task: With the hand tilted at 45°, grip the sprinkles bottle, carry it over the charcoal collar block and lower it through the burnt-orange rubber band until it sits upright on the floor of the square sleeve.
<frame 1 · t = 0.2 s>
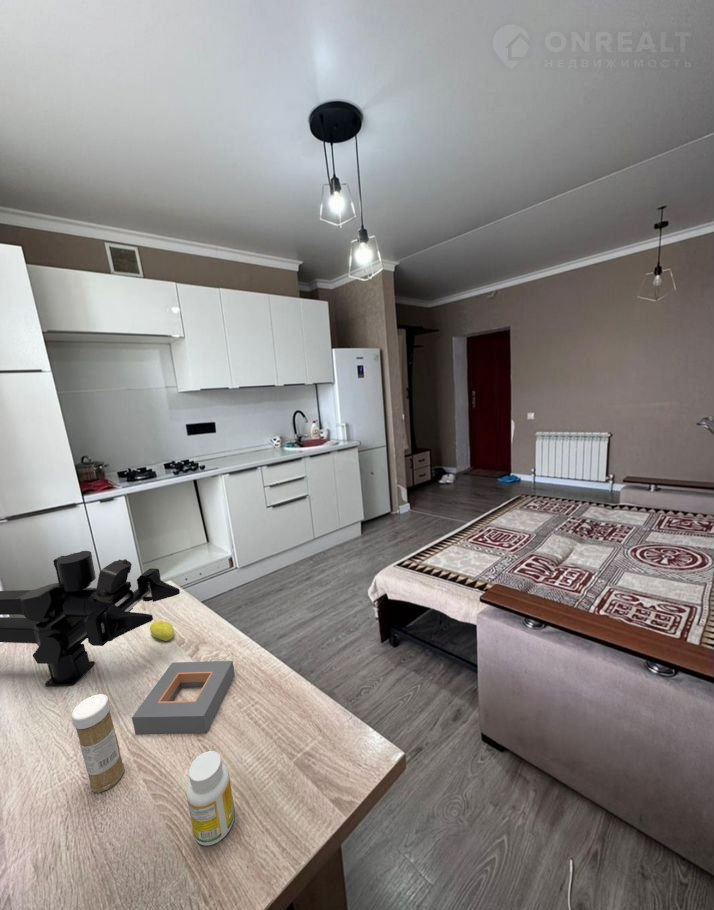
hand: (166, 603, 75), 17 cm above the table, tool horizontal, fingers open, 9 cm apart
lemon: (163, 637, 92), on the table
supplement bottle: (215, 824, 51), on the table
collar block: (189, 702, 71), on the table
sprinkles bottle: (108, 779, 58), on the table
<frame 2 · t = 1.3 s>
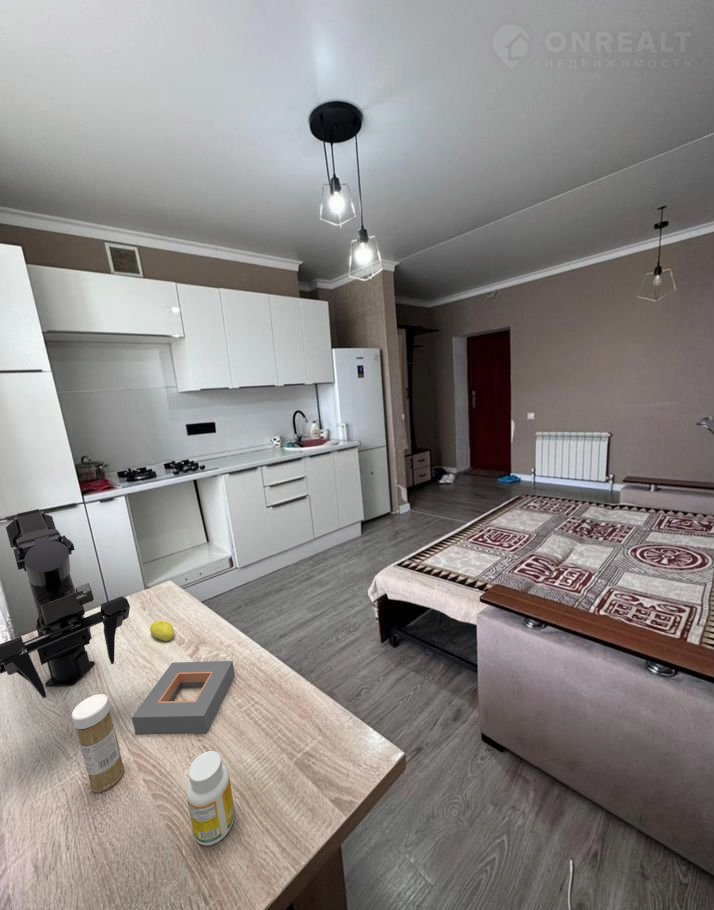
hand: (80, 679, 61), 13 cm above the table, tool tilted 45°, fingers open, 9 cm apart
nothing on the table moved.
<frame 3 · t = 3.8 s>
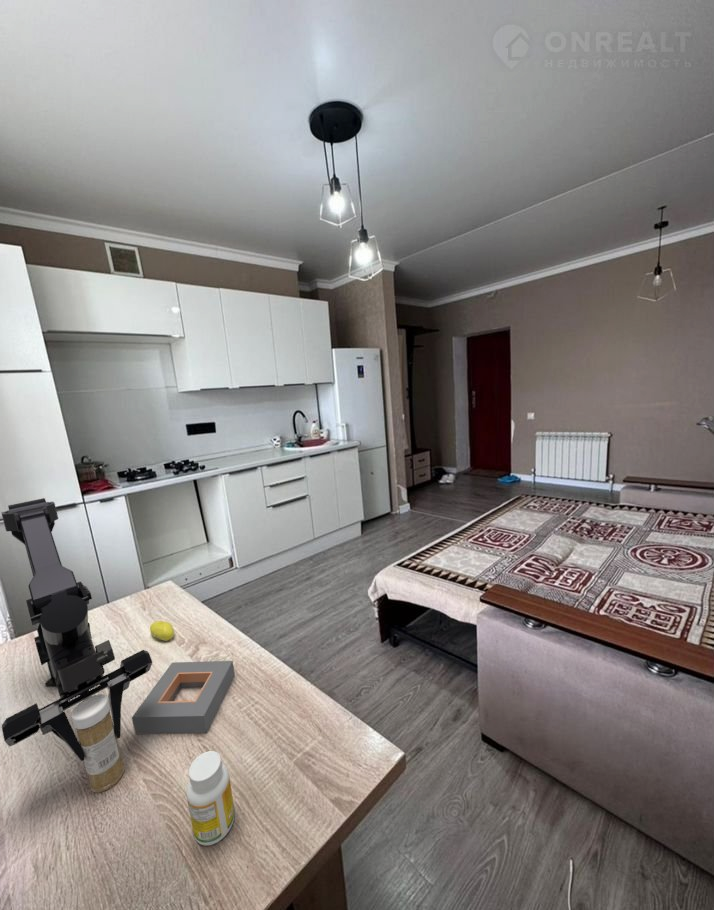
hand: (101, 748, 56), 7 cm above the table, tool tilted 45°, fingers closed on sprinkles bottle, 4 cm apart
sprinkles bottle: (108, 779, 58), on the table, touching gripper
everything else where it was.
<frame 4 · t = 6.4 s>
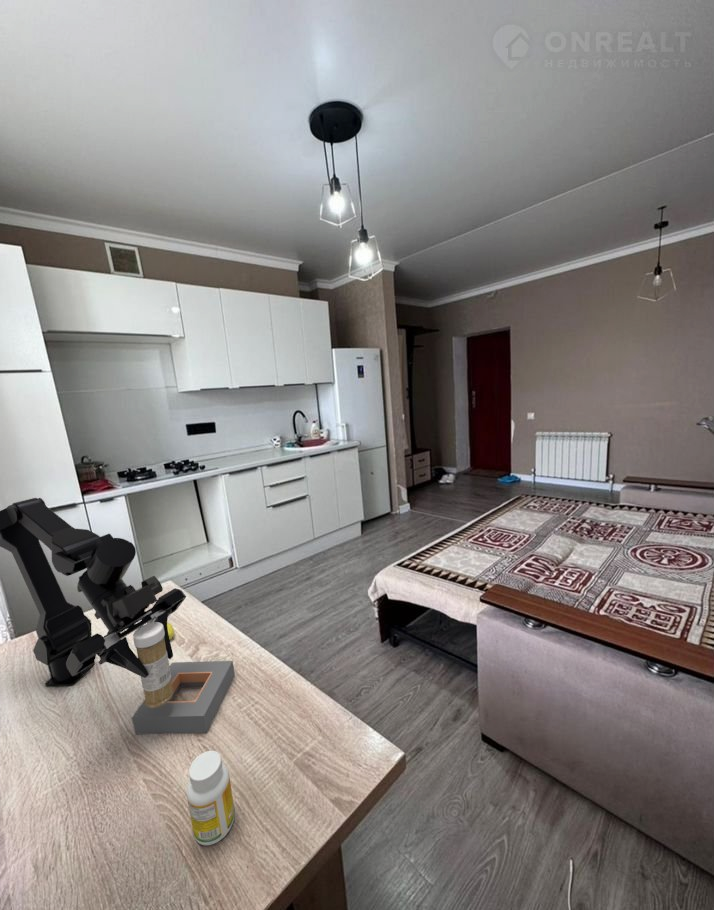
hand: (159, 666, 63), 13 cm above the table, tool tilted 45°, fingers closed on sprinkles bottle, 4 cm apart
sprinkles bottle: (159, 699, 65), point 6 cm above the table, touching gripper
everything else where it was.
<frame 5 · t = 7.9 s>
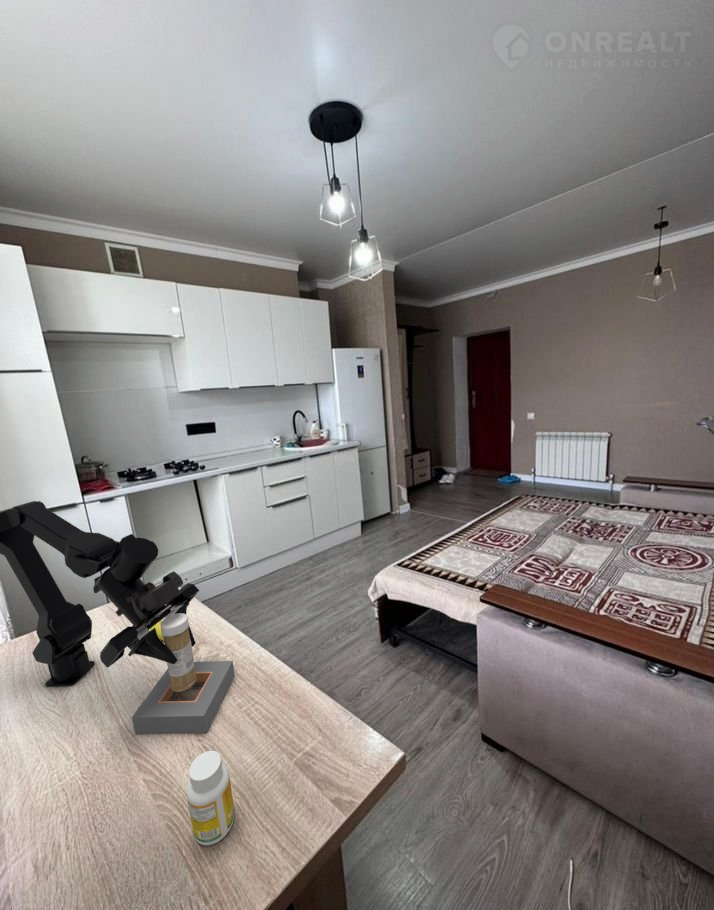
hand: (185, 653, 69), 11 cm above the table, tool tilted 45°, fingers closed on sprinkles bottle, 4 cm apart
sprinkles bottle: (184, 685, 70), point 4 cm above the table, touching gripper
everything else where it was.
when the fingers open (8 cm above the table, at t = 8.8 s): sprinkles bottle drops 1 cm, resting in collar block.
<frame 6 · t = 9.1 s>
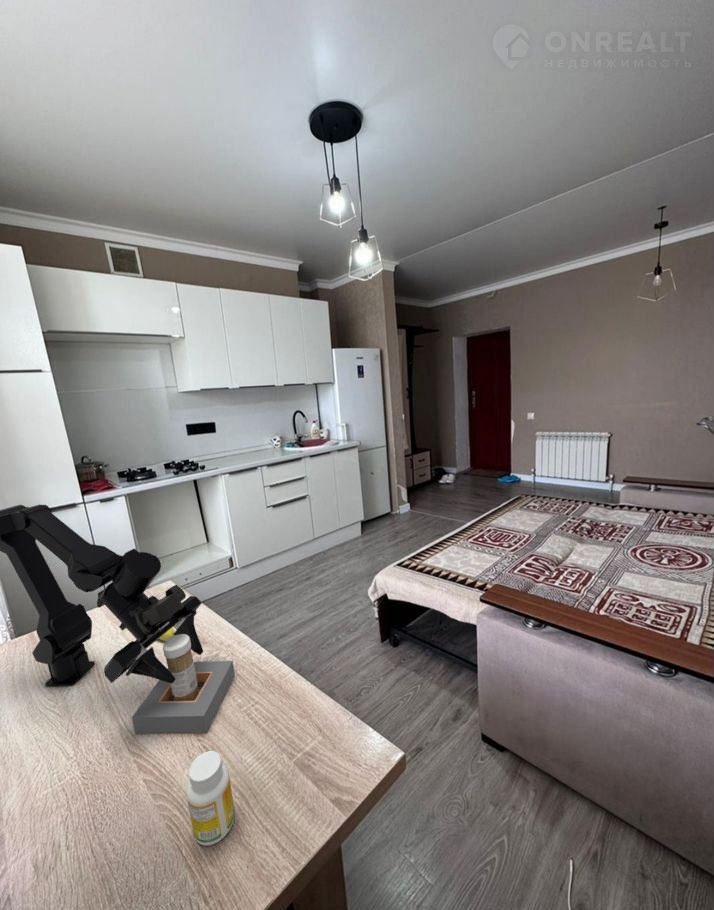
hand: (188, 666, 69), 8 cm above the table, tool tilted 45°, fingers open, 7 cm apart
sprinkles bottle: (188, 704, 71), resting in collar block
everything else where it was.
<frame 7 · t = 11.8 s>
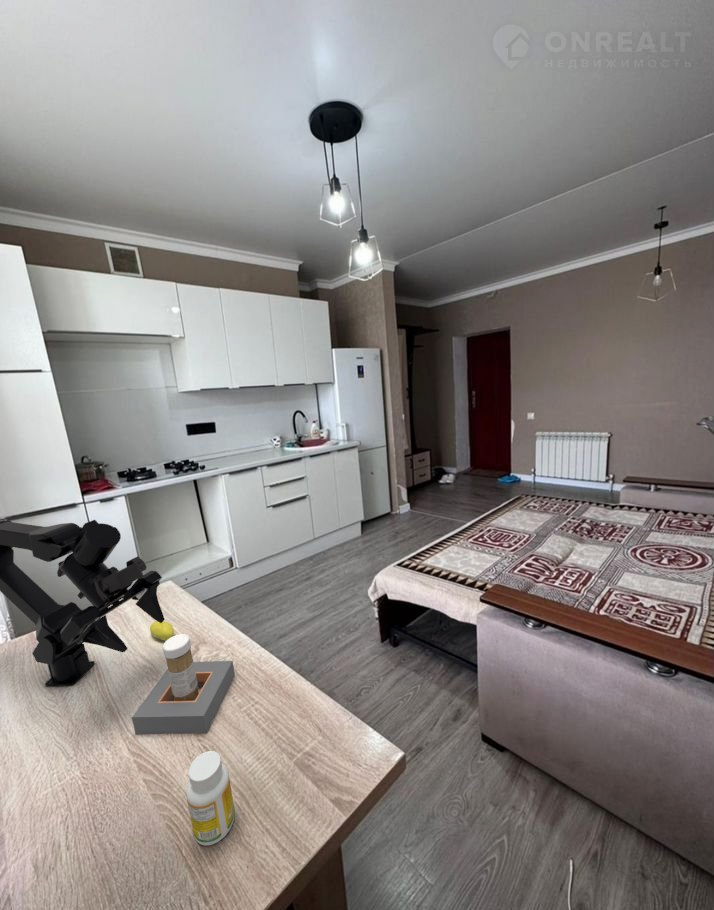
hand: (145, 635, 72), 13 cm above the table, tool tilted 45°, fingers open, 9 cm apart
nothing on the table moved.
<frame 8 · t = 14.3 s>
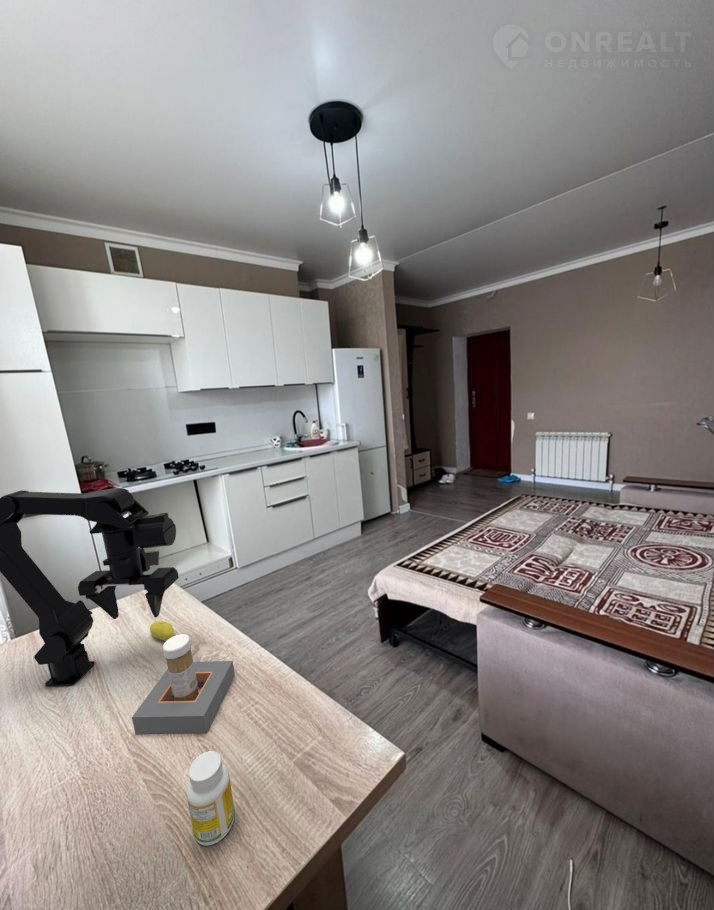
hand: (136, 617, 80), 12 cm above the table, tool pointing down, fingers open, 9 cm apart
nothing on the table moved.
at the end: sprinkles bottle 0.3 cm from the collar block (horizontally); sprinkles bottle resting in collar block; sprinkles bottle tilted 0° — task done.
